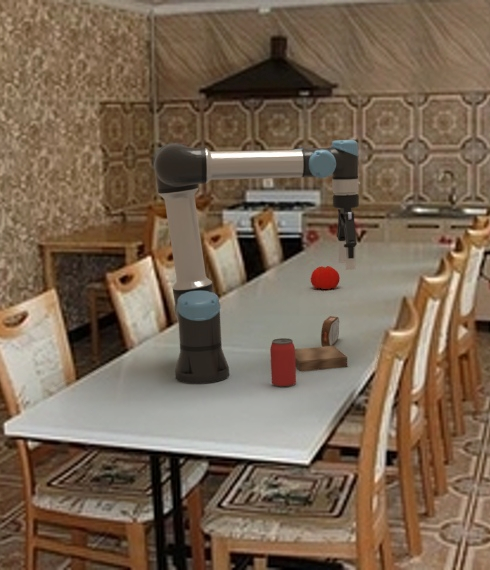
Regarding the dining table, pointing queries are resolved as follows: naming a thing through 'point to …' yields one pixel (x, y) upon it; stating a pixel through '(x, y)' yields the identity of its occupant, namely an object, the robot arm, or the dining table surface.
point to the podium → (319, 358)
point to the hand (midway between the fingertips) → (346, 266)
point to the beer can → (283, 362)
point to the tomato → (325, 278)
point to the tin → (330, 331)
